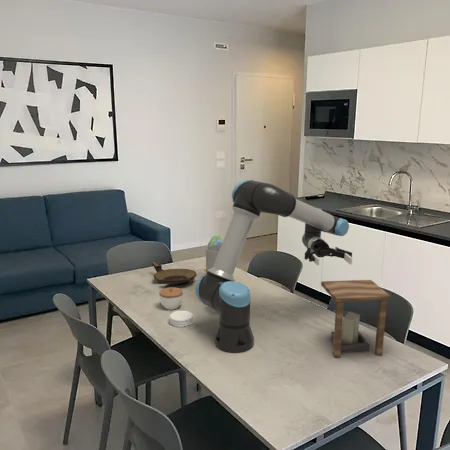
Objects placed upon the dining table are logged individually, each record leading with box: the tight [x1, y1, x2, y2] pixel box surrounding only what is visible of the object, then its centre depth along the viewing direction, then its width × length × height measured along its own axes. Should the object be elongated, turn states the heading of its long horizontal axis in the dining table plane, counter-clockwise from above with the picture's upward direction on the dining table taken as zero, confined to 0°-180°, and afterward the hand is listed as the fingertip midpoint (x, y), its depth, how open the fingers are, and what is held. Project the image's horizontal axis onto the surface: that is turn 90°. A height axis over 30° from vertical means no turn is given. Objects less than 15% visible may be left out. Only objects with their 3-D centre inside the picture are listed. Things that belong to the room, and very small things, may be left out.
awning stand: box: [320, 279, 392, 359], centre depth 170 cm, size 17×20×24 cm
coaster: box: [169, 310, 194, 328], centre depth 193 cm, size 10×10×4 cm
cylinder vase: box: [205, 244, 222, 275], centre depth 218 cm, size 12×12×25 cm
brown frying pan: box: [151, 261, 197, 285], centre depth 242 cm, size 22×30×8 cm
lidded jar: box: [159, 286, 184, 311], centre depth 208 cm, size 11×11×9 cm
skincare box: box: [341, 311, 361, 344], centre depth 173 cm, size 6×4×12 cm
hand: (334, 261), depth 180 cm, fingers open, 13 cm apart
